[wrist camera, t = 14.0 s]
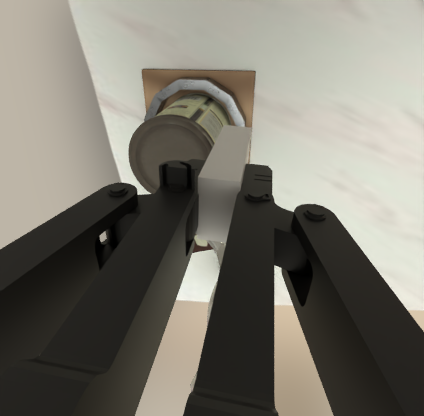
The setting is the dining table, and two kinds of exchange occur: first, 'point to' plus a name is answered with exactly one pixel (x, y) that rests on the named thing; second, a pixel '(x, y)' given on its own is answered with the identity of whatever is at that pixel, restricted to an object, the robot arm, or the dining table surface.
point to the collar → (199, 84)
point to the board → (232, 80)
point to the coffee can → (176, 136)
